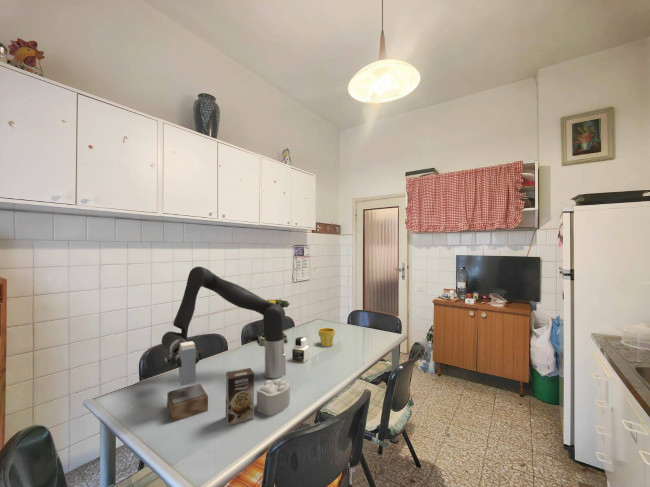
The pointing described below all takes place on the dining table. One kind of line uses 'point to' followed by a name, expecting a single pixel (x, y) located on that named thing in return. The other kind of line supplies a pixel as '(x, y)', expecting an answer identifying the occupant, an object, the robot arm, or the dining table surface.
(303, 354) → the medicine bottle
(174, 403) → the stand
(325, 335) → the plant pot
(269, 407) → the lumpy-topped squat cylinder
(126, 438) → the dining table surface
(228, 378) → the coffee box
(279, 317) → the robot arm
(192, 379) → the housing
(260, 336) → the cordless drill
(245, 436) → the dining table surface
